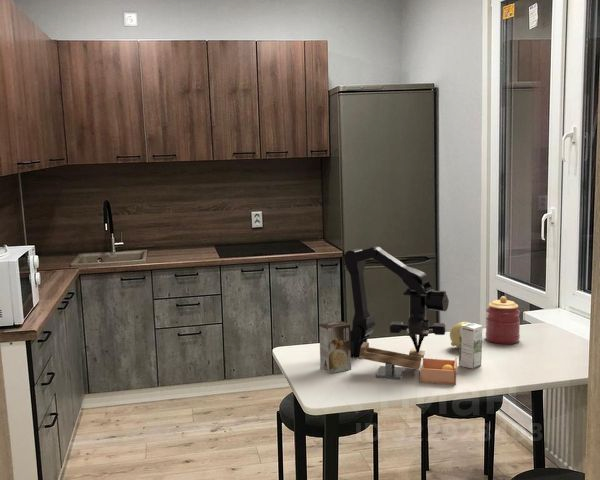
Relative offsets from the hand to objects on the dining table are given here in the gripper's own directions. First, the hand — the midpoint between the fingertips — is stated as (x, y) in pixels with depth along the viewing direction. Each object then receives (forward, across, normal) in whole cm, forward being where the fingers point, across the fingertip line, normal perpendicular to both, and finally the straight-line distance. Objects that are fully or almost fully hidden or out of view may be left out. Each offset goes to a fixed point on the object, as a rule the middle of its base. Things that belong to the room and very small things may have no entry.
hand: (417, 352), depth 224 cm
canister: (+6, +30, +39) cm, 49 cm away
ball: (+2, +11, -11) cm, 16 cm away
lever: (0, -8, -6) cm, 10 cm away
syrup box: (+5, +18, +4) cm, 19 cm away
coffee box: (+5, -27, -10) cm, 29 cm away
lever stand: (+5, -8, -11) cm, 15 cm away
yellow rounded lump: (+5, +16, +24) cm, 29 cm away
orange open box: (+5, +8, -11) cm, 14 cm away
